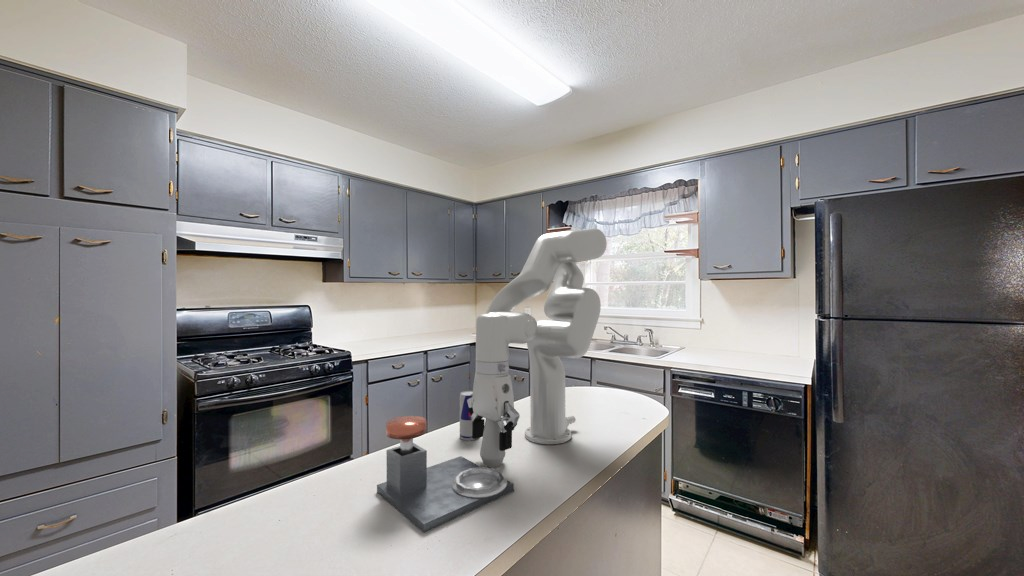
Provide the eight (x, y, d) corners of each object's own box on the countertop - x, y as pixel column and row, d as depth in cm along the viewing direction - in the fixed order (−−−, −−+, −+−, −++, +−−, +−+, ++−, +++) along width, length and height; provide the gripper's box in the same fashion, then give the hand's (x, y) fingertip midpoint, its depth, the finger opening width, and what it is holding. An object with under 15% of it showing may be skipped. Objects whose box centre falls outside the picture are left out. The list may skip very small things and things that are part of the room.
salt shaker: (502, 470, 87) (501, 411, 87) (477, 468, 88) (476, 409, 88) (507, 459, 93) (507, 403, 93) (484, 457, 94) (483, 402, 94)
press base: (462, 462, 92) (462, 425, 92) (518, 492, 78) (518, 448, 78) (376, 492, 78) (376, 449, 78) (426, 535, 64) (426, 482, 64)
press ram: (414, 452, 83) (414, 413, 83) (433, 463, 77) (433, 422, 77) (379, 462, 77) (379, 421, 78) (397, 475, 72) (397, 431, 72)
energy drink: (474, 442, 104) (474, 396, 104) (456, 439, 106) (456, 394, 106) (482, 435, 109) (482, 391, 109) (465, 433, 111) (464, 389, 111)
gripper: (530, 371, 87) (529, 449, 87) (481, 361, 100) (481, 430, 99) (504, 375, 82) (504, 459, 81) (456, 364, 95) (456, 437, 94)
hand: (491, 443), depth 90 cm, fingers open, 9 cm apart
